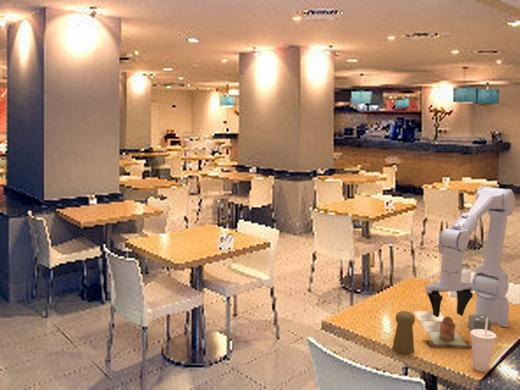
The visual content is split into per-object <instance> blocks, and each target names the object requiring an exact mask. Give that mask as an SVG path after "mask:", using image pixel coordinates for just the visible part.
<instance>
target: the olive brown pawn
mask: <svg viewBox="0 0 520 390" xmlns="http://www.w3.org/2000/svg"><path fill="white" fill-rule="evenodd" d="M415 320H416V317H415V314H414V313H412V312H410V311H407V310H400V311H398V312H397V313H396V316H395V321H396V323H397V324H396V327H395V333H394V334H395V335H394V339H393V344H392V351H393V352H395V353H396V354H401V355H412V354H414V353H415V344H414V342H415V341H414V330H413V329H414V328H413V325H414V324H415Z"/></svg>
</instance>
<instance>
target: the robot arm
mask: <svg viewBox="0 0 520 390" xmlns="http://www.w3.org/2000/svg"><path fill="white" fill-rule="evenodd" d="M515 199H516V198H515V194H514V191H513V190H512V189H511V188H500V187H499V188H498V187H491V186H486V185H481V186H479V188H478V189H477V190H476V193H475V200H474V203H473V204H472V205H471V207H470V209H469V211H467V212H463V213H462V214H460V215H459V216H458V218H457V219H456V220H455V221H454V223H453V224H452V225H451V226H450V227H447V228H444V229H442V230H441V232H440V234H439V238H438V244H439V248H440V250H439V251H440V253H441V265H440V278H439V279H440V280H439V282H436V283H431V284H425V286H424V287H425V289H424V290H425V292H426V295H427V296H428V299H429V300H430V303H431V304H430V305H431V308H432V312H433V315H434V316H436V317H439V314H440V312H441V304H442V301H443V296H442V295H441V293H445V292H451V291H456V292H457V297H456V300H457V302H456V304H457V305H456V313H457V315H459V316H461V317H462V316H464V313H465V310H466V308H467V306H468V304H469V301H470V300H471V299H472V298H473V296H474V294H475V295H476V301H475V312H474V315H480V316H486V317H487V318H488V319H489V320H490V321H491V324H497V325H498V326H499V327H501V328H502V327H505V328H508V327H509V323H508V322H509V314H510V313H509V312H510V303H509V299H508V297H507V296H506V295H507V294H508V290H509V274H508V273H507V272H506V271H505V270H504V269H503V268H502V267H501V264H502V256H503V251H504V245H505V236H506V230H507V223H508V217H509V216H512V215H513V212H514V206H515V201H516V200H515ZM486 213H487V214H488V215H489V223H488V224H489V225H488V230H487V231H488V232H487V237H486V245H485V251H484V257H483V258H484V259H483V264H482V265H480V266H478V267H476V268H475V269H474V274H473V276H472V278H471V282H470V283H461V276H462V264H464V263H463V262H464V261H463V259H464V250H466V249H467V248H468V244H469V241H470V239H471V236H472V234H473V233H474V232H475V230H476V229H477V228H478V227H479V220H480V219H481V218H482V217H483V216H484V215H485V214H486ZM473 292H474V293H473Z"/></svg>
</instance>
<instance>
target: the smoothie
mask: <svg viewBox="0 0 520 390" xmlns="http://www.w3.org/2000/svg"><path fill="white" fill-rule="evenodd" d="M487 326H488V318H486V323H485V330H483V329H474V330H472V331H471V330H470V334H469V336H470V338H471V345H472V349H471V355H472V356H471V358H472V368H473V370H475V371H478V372H481V373H484V372H485V373H486V372H488V371H489V367H490V363H491V359H492V354H493V351H494V346H495V341H496V340H497V335H496V333H495V332H493V331H492V330H491V331H488V330H487Z"/></svg>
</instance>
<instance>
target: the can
mask: <svg viewBox="0 0 520 390" xmlns="http://www.w3.org/2000/svg"><path fill="white" fill-rule="evenodd" d="M471 277H472V270H471V266H470V265H469V264H465V263H462V276H461V283H471V282H472V278H471ZM450 297H451V298H457V292H456V291H450Z"/></svg>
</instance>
